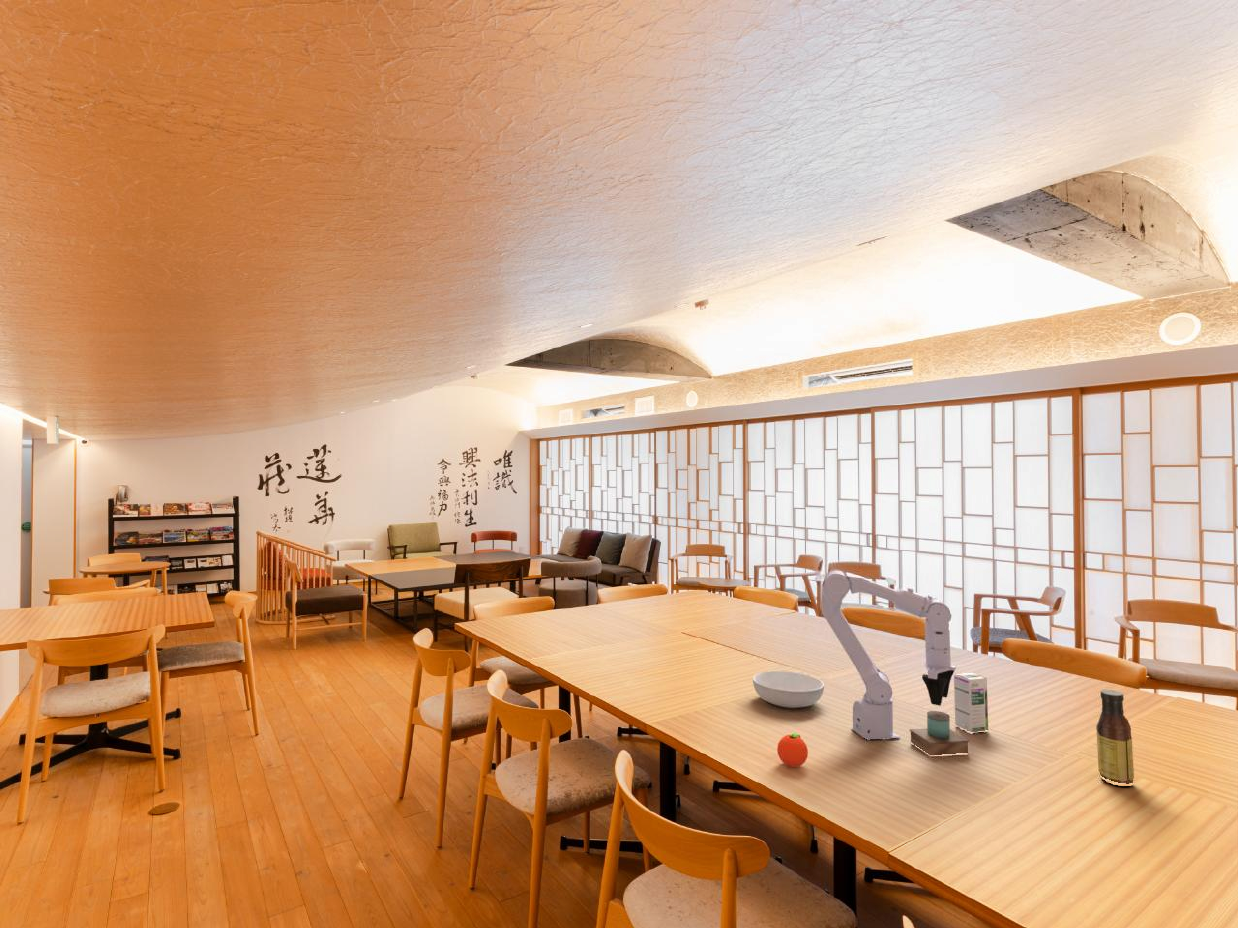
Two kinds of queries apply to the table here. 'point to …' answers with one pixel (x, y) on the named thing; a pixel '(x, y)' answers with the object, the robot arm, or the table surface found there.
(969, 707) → the syrup box
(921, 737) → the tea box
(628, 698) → the table surface
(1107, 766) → the sauce bottle
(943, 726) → the cylinder
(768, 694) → the serving bowl
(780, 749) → the tomato
